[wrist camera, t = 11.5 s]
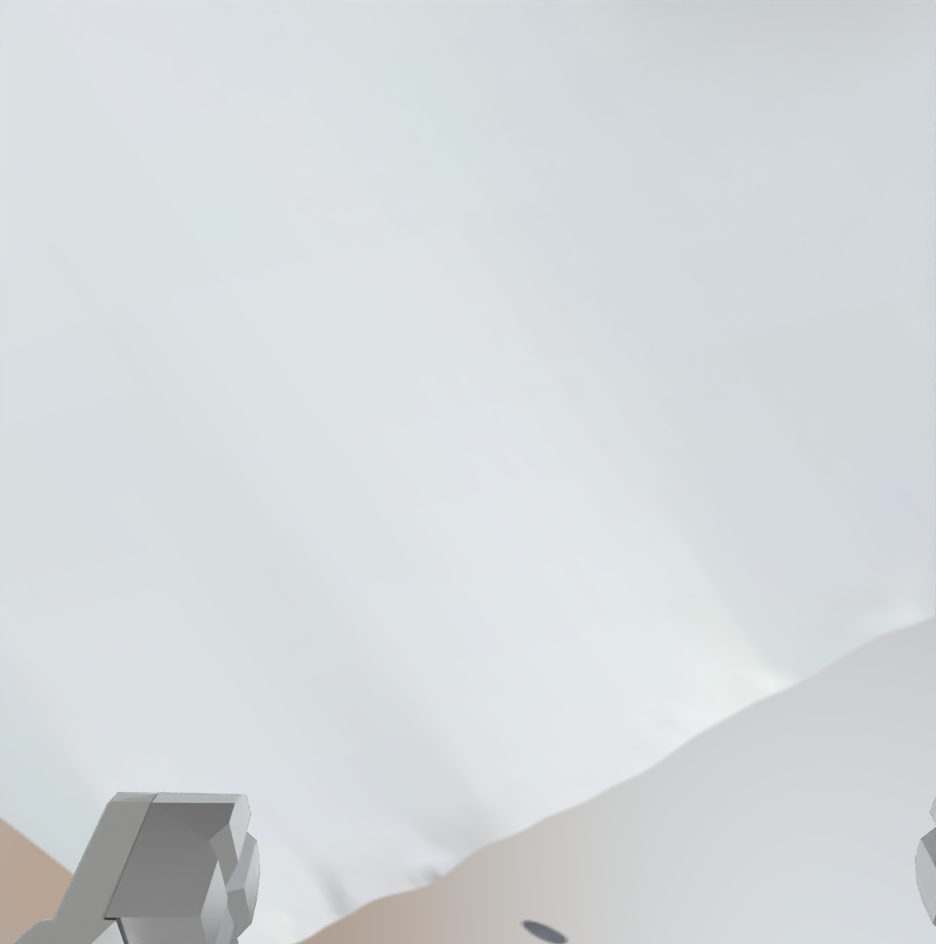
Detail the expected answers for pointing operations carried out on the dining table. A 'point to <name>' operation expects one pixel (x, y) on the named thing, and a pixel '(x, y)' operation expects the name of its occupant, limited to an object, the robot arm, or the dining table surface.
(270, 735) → the dining table surface
